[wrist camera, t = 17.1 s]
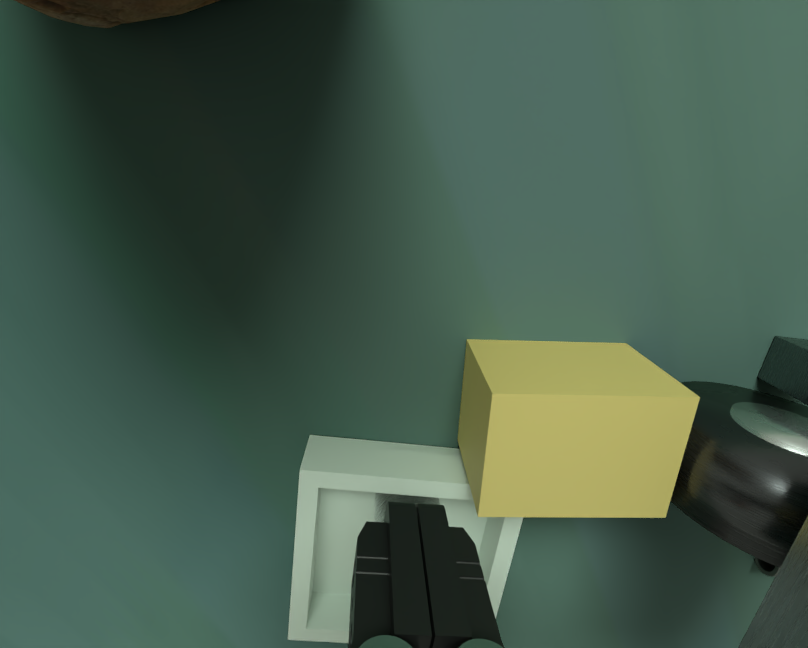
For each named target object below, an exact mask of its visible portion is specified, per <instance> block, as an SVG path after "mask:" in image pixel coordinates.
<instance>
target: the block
mask: <svg viewBox="0 0 808 648" xmlns="http://www.w3.org/2000/svg"><path fill="white" fill-rule="evenodd" d="M15 1H17V2H19V3H21V4H23V5H26V6H28V7H30V8H32V9H34V10H37V11H39V12H41V13H43V14H46V15H48V16H50V17H52V18H56V19H60V20H63V21H67V22H71V23H76V24H80V25H84V26H91V27H100V28H111V27H114V26H117V25H120V24H123V23H132V22H138V21H144V20H150V19H156V18H162V17H167V16H173V15H179V14H183V13H186V12H189V11H192V10H194V9H197V8H200V7H203V6H206V5H209V4H211V3H214V2H217V1H219V0H15Z"/></svg>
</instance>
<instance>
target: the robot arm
mask: <svg viewBox="0 0 808 648" xmlns="http://www.w3.org/2000/svg"><path fill="white" fill-rule="evenodd" d="M348 648H504V646H503V643H502V641H501V637H500V634H499V630H498V626H497V623H496V619H495V615H494V612H493V608H492V604H491V601H490V597H489V593H488V590H487V586H486V582H485V581H484V575H483V571H482V567H481V565H480V560H479V556H478V553H477V549H476V545H475V543H474V542H473V540H472V539H471V538H470V536H469V535H468V533H467V532H466V531H465V529H464V528H463V527H449V525H448V520H447V515H446V510H445V507H444V505H436V504H421V503H416V504H415V503H405V502H390V501H388V502H387V504H386V510H385V516H384V522H368V521H366V523H365V525H364V527H363V528H362V530H361V532H360V533H359V535H358V538H357V545H356V553H355V560H354V568H353V575H352V584H351V604H350V622H349V640H348Z"/></svg>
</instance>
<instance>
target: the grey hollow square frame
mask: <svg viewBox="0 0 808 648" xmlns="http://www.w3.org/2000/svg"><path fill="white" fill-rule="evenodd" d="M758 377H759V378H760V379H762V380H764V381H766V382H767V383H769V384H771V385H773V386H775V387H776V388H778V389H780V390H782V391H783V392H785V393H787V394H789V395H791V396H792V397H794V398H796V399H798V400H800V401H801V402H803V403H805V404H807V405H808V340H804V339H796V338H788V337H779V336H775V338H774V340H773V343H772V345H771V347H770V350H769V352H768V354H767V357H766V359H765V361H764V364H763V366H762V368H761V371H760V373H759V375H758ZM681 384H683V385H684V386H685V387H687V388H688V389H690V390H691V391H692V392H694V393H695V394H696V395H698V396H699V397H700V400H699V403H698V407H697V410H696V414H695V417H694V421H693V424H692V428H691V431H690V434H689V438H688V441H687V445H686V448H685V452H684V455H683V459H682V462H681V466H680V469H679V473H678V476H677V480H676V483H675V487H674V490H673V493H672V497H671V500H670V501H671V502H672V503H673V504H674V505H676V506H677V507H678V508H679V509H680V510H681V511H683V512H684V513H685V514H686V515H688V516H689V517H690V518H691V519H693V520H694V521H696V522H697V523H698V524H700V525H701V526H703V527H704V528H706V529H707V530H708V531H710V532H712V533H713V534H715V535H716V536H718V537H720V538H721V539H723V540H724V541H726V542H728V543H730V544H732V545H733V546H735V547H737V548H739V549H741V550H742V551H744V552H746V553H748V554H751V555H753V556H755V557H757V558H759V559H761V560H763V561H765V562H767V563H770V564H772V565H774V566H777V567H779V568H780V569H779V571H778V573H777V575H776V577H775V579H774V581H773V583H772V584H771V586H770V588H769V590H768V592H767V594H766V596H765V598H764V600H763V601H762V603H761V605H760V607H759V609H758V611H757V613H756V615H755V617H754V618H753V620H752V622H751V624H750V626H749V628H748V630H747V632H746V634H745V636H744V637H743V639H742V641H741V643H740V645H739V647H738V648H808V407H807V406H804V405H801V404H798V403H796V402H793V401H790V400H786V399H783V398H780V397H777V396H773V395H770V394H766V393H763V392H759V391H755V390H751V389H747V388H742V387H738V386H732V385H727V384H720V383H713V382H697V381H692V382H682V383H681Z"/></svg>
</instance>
